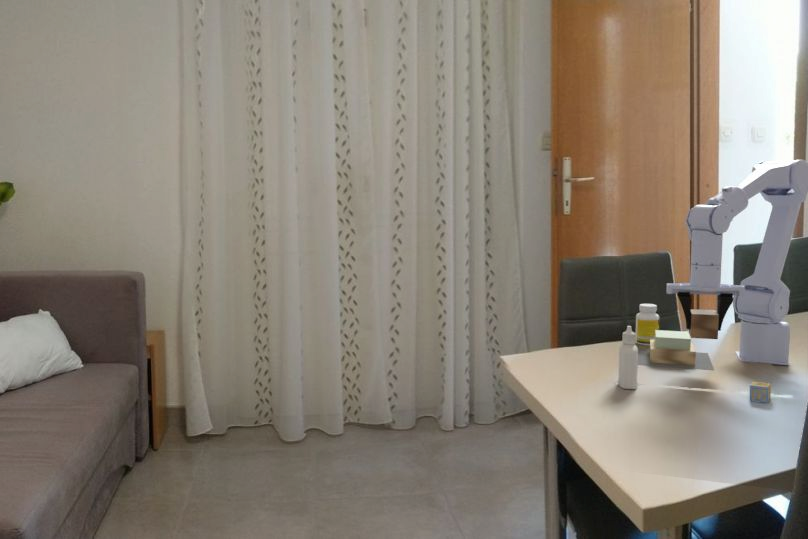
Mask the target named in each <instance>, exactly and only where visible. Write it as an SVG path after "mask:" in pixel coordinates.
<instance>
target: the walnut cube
mask: <svg viewBox="0 0 808 539" xmlns="http://www.w3.org/2000/svg"><path fill="white" fill-rule="evenodd" d="M718 323H719V315H718V313H717V309H692V308H691V329H688V332H689V335H690V338H691V339H705V340H718V339H719V331H718Z"/></svg>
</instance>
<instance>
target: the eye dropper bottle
mask: <svg viewBox="0 0 808 539" xmlns="http://www.w3.org/2000/svg"><path fill="white" fill-rule="evenodd" d="M626 327H627V328H626V330H625V331H623V332H622V336H621V337H622V340H621V341H622V344H620V346H619V350H618V379H617V380H618V386H619V387H620V388H621V389H624V390H636V389H637V388H638V372H639V370H638V369H639V368H638V366H639V365H638V349H639V348H638V346H637V345H636V342H635V339H636V334H635V332H634V331H633V330H632V326H631V325H627V326H626Z"/></svg>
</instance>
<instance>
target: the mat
mask: <svg viewBox="0 0 808 539" xmlns="http://www.w3.org/2000/svg"><path fill="white" fill-rule="evenodd" d="M638 366H649V367H660V368H661V367H663V368H678V369H688V370H689V369H690V370H693V369H694V370H704V371H705V370H707V371H715V368H714V366H713V363H712V361H711V358H710V355H709V352H697V351H696V358H695V365H680V364H666V363H651V362H650V348H638Z"/></svg>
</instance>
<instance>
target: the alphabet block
mask: <svg viewBox="0 0 808 539" xmlns="http://www.w3.org/2000/svg"><path fill="white" fill-rule="evenodd" d="M771 391H772V383H769V382H762V381H761V382H760V381H752V383H750V385H749V401H750V402H755V403H756V402H757V403H764V404H768V403H769V401H771V398H772V397H771V396H772V395H771V393H772V392H771Z"/></svg>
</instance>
